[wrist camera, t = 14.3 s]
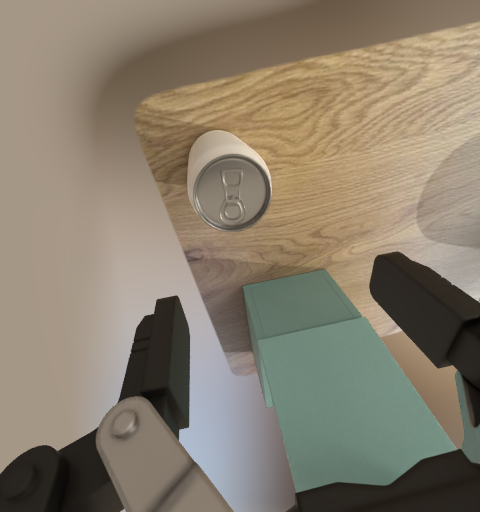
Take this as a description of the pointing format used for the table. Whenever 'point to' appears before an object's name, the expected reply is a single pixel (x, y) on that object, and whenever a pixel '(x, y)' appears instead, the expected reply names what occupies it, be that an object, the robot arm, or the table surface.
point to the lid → (347, 407)
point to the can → (227, 182)
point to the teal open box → (293, 310)
